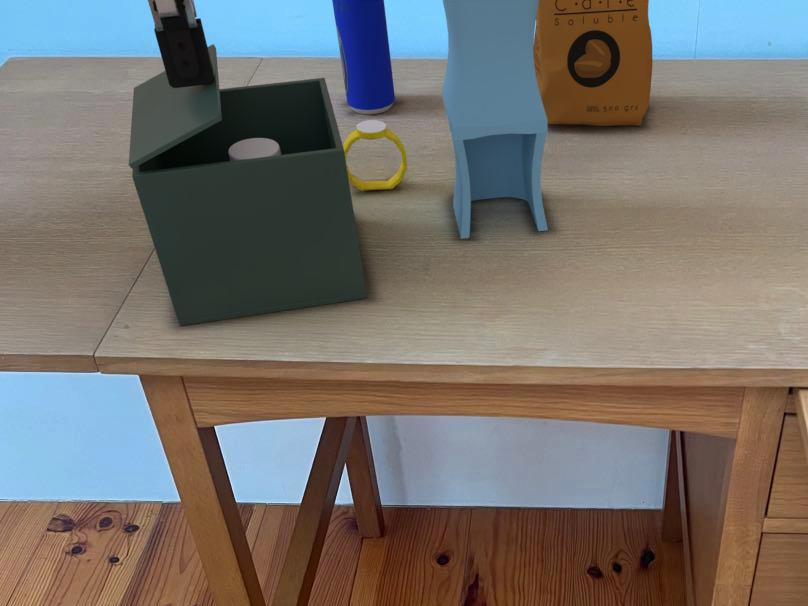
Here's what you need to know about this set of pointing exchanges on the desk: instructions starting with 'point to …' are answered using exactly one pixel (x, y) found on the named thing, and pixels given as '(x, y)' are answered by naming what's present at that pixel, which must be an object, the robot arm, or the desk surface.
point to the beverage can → (365, 54)
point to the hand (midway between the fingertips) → (192, 81)
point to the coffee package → (593, 61)
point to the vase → (494, 104)
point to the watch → (372, 132)
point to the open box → (255, 209)
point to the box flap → (171, 114)
